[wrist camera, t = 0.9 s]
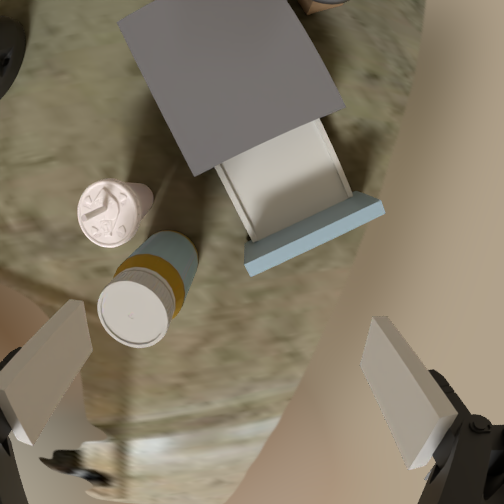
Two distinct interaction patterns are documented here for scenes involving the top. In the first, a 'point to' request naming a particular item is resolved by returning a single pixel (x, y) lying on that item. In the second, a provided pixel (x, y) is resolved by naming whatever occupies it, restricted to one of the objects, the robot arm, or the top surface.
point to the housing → (228, 73)
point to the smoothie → (113, 210)
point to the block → (315, 6)
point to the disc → (331, 1)
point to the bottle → (148, 289)
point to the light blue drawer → (293, 196)
